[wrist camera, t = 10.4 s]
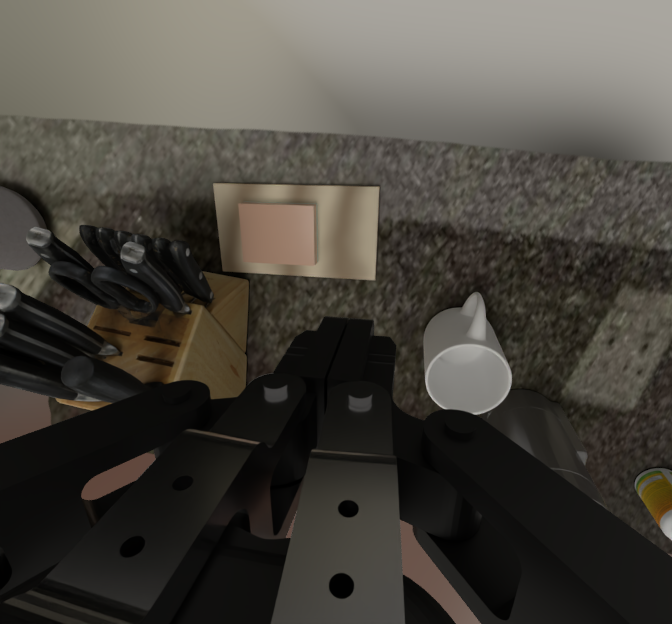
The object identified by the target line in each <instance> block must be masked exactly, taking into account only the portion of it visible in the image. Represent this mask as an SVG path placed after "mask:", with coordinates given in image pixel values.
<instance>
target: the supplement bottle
mask: <svg viewBox="0 0 672 624" xmlns="http://www.w3.org/2000/svg"><path fill="white" fill-rule="evenodd" d="M635 489H636V491H637V493H638V494H639V496H640V497H641V499H642V500H643V502H644V504H645V505H646V507H647V508H648V510H649V511H650V513H651V514H652V516H653V517H654V519H655V520H656V522H657V523H658V525H659V527H660V528H661V530H662V531H663V532H664V534H665V535H666V536H667V537H668V538H670V539H671V540H672V471H671V470H669V469H665V468H653V469H649V470H646V471H644V472H642V473H641V474H640V475H639V476H638V477H637V478H636V480H635Z"/></svg>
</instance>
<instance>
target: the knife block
mask: <svg viewBox="0 0 672 624" xmlns="http://www.w3.org/2000/svg"><path fill="white" fill-rule="evenodd" d="M79 230H80V235H81V237H82V239H83V241H84V243H85V244H86V246H87V247H88V248H89V249H90V251H91V252H92V253H93V254H94V255H95V256H96V257H97V258H98V259H99V260H100V261H101V262H102V263H103V264H104V265H105V266H98V267H96V268H95V269H94V268H93V267H92V266H91V265H90V264H89V263H88V262H87V261H86V260H85V259H83V258H82V257H81V256H80V255H79V254H78V253H77V252H76V251H74V250H73V249H72V248H70V247H69V246H67V245H66V244H64V243H63V242H62V241H60V240H59V239H58V238H56V237H55V236H54V234H53V233H52V232H50V231H49V230H46V229H42V228H39V227H33V228H32V229H30V230H29V231H28V233H27V235H26V240H27V242H28V244H29V246H30V247H31V248H32V249H33V250H34V252H36V253H37V254H38V255H39V256H40V257H41V258H42V259H44V260H45V261H46V262H47V263H49V264H50V265H51V266H50V269H49V275H50V277H51V278H52V279H53V280H54V281H56V282H57V283H58V284H60V285H61V286H63V287H64V288H66V289H68V290H69V291H71V292H73V293H75V294H76V295H78V296H80V297H82V298H84V299H86V300H88V301H90V302H92V303H94V304H96V305H97V306H96V308H95V311H94V313H93V315H92V317H91V319H90V322H89V324H88V326H85V325H84V324H82V323H80V322H78V321H76V320H75V319H73V318H71V317H70V316H68V315H66V314H65V313H63V312H61V311H59V310H58V309H55V308H53V307H51V306H49V305H47V304H45V303H43V302H41V301H38V300H36V299H34V298H32V297H30V296H28V295H25V294H24V293H22V292H21V291H20V290H19V289H18V288H16V287H14V286H12V285H8V284H4V283H0V384H2V385H6V386H10V387H14V388H18V389H22V390H26V391H30V392H34V393H38V394H42V395H46V396H50V397H55V398H56V400H57V401H58V402H59V403H63V404H67V405H71V406H75V407H79V408H84V409H88V410H95V409H98V408H101V407H103V406H106V405H109V404H112V403H115V402H117V401H120V400H123V399H126V398H128V397H131V396H134V395H137V394H140V393H142V392H145V391H148V390H151V389H153V388H156V387H159V386H162V385H164V384H167V383H171V382H175V381H181V380H195V381H199V382H202V383H204V384H206V385H207V386H208V387H209V389H210V395H211V399H220V398H231V397H238V396H239V395H240V394H241V392H242V391H243V390H244V389H245V388H246V369H247V356H246V355H245V352H246V341H247V321H248V298H249V281H248V280H246V279H241V278H236V277H231V276H225V275H220V274H215V273H209V272H204V271H202V270H201V269H200V267H199V266H198V264H197V262H196V261H195V259H194V257H193V256H192V253H191V251H190V246H189V244H188V243H187V242H185V241H182V240H176V241H172V242H171V241H169V240H168V239H165V238H155V239H151V238H150V237H149V236H147V235H142V234H132V233H130V232H126V231H114V230H113V229H110V228H103V227H102V228H97V227H95V226H91V225H80V227H79ZM121 285H122V286H125V287H127V288H126V289H125V288H124V287H122V286H121Z"/></svg>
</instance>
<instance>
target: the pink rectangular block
mask: <svg viewBox="0 0 672 624" xmlns="http://www.w3.org/2000/svg"><path fill="white" fill-rule="evenodd" d="M238 207H239V218H240V230H241V241H242V253H243V262H252V263H270V264H288V265H307V266H315V265H316V264H317V262H318V210H317V204H314V203H279V202H242V203H239V204H238Z"/></svg>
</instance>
